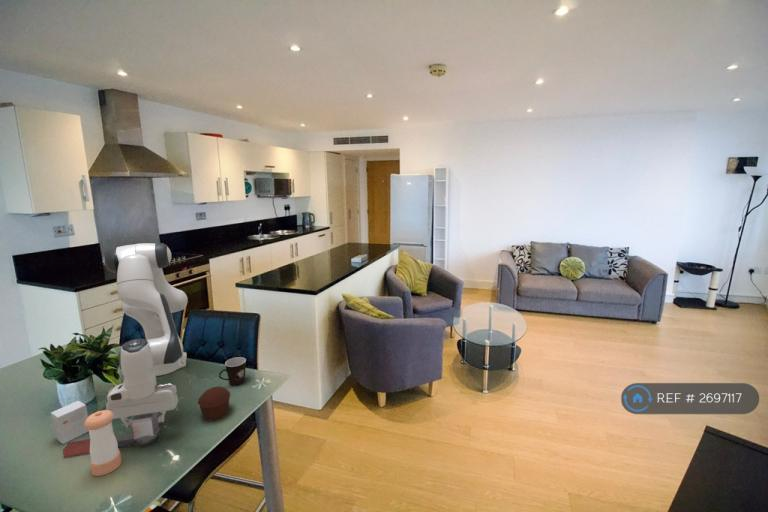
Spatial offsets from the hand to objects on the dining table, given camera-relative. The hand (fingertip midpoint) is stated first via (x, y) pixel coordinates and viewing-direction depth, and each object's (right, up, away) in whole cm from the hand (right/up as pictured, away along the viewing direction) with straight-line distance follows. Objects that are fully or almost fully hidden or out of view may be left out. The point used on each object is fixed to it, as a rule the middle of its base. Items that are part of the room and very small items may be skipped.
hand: (146, 423), depth 117 cm
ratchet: (-9, -6, -2) cm, 12 cm away
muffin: (+17, -4, +15) cm, 23 cm away
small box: (-28, -6, +3) cm, 29 cm away
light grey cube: (0, -3, +1) cm, 3 cm away
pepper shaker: (-5, -8, -11) cm, 14 cm away
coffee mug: (+14, 0, +36) cm, 39 cm away
